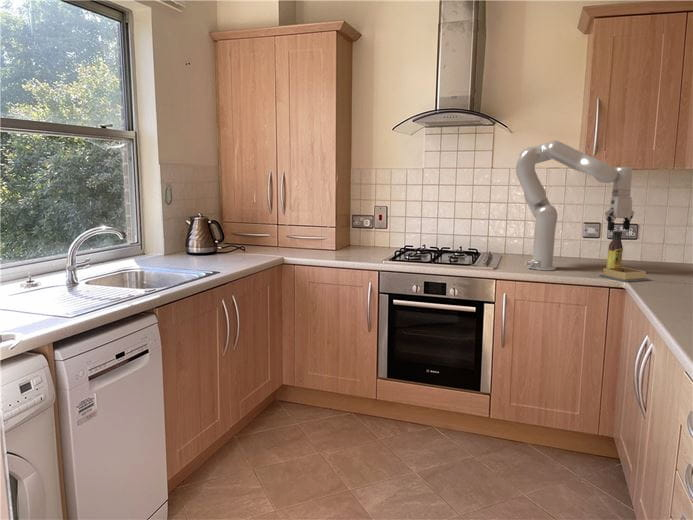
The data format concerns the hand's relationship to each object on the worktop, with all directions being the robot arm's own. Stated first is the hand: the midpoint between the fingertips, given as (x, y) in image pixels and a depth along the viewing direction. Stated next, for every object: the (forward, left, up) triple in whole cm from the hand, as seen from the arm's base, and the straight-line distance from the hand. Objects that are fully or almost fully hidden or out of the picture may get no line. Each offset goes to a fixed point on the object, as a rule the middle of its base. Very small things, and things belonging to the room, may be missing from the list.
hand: (618, 229), depth 248 cm
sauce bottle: (0, 0, -21) cm, 21 cm away
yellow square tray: (-8, -13, -21) cm, 25 cm away
